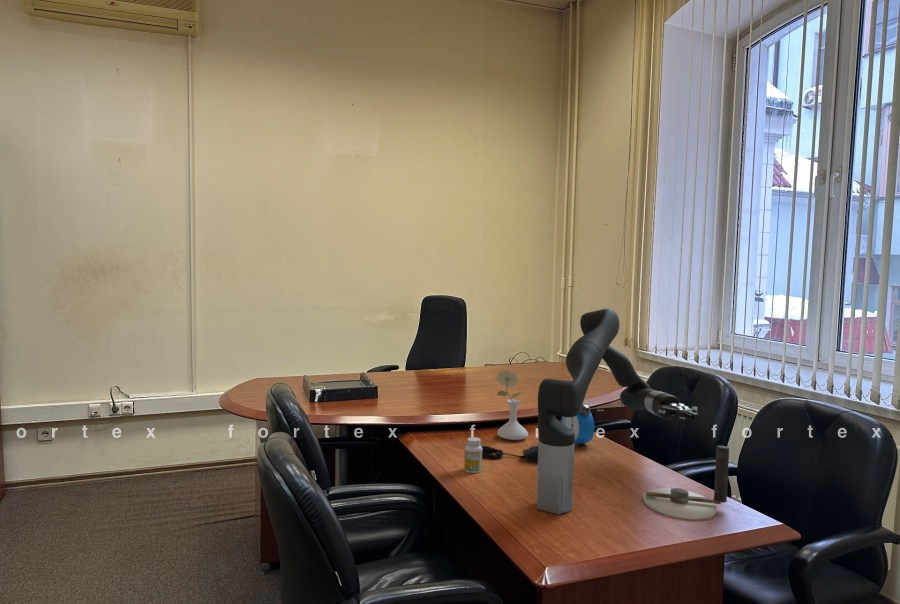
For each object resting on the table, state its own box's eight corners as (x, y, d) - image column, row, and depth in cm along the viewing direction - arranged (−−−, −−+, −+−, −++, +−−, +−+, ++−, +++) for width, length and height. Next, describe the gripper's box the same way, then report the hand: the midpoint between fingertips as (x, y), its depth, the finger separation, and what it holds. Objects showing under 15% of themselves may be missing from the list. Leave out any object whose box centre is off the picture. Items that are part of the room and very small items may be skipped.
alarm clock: (560, 438, 206) (561, 398, 205) (574, 437, 208) (575, 397, 207) (579, 449, 194) (581, 406, 193) (594, 448, 196) (596, 405, 195)
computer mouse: (569, 466, 177) (570, 449, 177) (468, 459, 182) (469, 443, 181) (567, 457, 186) (568, 441, 186) (471, 450, 191) (472, 434, 191)
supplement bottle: (471, 466, 175) (472, 435, 174) (485, 470, 171) (486, 439, 171) (460, 470, 170) (461, 439, 170) (474, 474, 167) (475, 442, 167)
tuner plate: (713, 526, 136) (713, 520, 136) (637, 509, 145) (637, 504, 145) (718, 500, 152) (719, 496, 152) (649, 486, 161) (649, 482, 161)
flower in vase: (533, 437, 207) (535, 370, 206) (520, 444, 198) (522, 374, 196) (501, 431, 214) (503, 366, 213) (487, 438, 204) (489, 370, 203)
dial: (646, 499, 148) (649, 443, 147) (645, 493, 152) (647, 438, 152) (728, 508, 144) (731, 450, 143) (724, 502, 148) (727, 445, 147)
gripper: (643, 392, 172) (675, 404, 155) (682, 392, 175) (718, 404, 158) (642, 416, 172) (674, 431, 155) (680, 416, 175) (716, 431, 158)
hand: (696, 418), depth 156 cm, fingers closed
